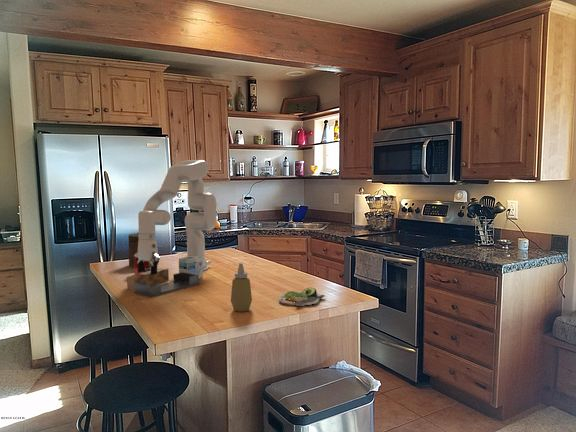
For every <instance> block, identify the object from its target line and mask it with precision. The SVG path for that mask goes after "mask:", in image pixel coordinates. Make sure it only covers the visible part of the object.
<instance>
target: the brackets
mask: <svg viewBox="0 0 576 432" xmlns="http://www.w3.org/2000/svg"><path fill="white" fill-rule="evenodd" d="M199 279H200V278H199V275H195V274H190V273H184V272H181V273H179V272H177V273H173V280H172V281H170V282H169V281H168V282H165V283H161V284H160V283H157V284H154V285H150V286H148V285H146V281H141V282H136V283H134V290H133V294H136V295H139V296H143V297H147V298H148V297H149V298H155V297H158V296H161V295H165V294H170V293H172V292H176V291H179V290H184V289H188V288H191V287H196V286H198V285H200V281H199Z"/></svg>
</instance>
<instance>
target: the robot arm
mask: <svg viewBox="0 0 576 432" xmlns="http://www.w3.org/2000/svg"><path fill="white" fill-rule="evenodd" d="M209 170H210V166H209V163H208V162H207V161H206V160H203V159H196V160H195V159H194V160H193V159H191V160H190V159H187V160H182V161H180V162H179V164H174V165H171V166H170V167H169V168H168V170H167V172H166V175H165V178H164V180H163V182H162V184H161V186H160V188H159V190H158V191H156V192H155V193H153V194H152V196H150V198H148V200H147V201H146V203H145V205H144V208H143V209H142V210H141V211H139V212H138V217H137V219H138V229H139V230H138V232H139V242H138V252H137V253H136V254H135V255H136V260H137V263H138V272H143V271H144V263H143V262H144V261H148V262H150V263H151V265H152V266H151V267H150V271H151V275H153V274H157V269H158V266H159V263H160V259H161V257H160V256H159V250H158V244H157V243H158V242H157V239H156V226H166V225H168V224H169V223H170V221H171V219H172V218H171V217H172V216H171V213H170V212H169V211H168V210H166V209H165V210H164V209H158V208H159V207H160V206H161V205H162V204H164V203H165V202H169V201H171V200H173V199H174V198H176V197H177V196H178V193H179V191H180V188H181V185H182V183H183V182H186V183H187V206H188V208H189V209H190V210H193V211H194V210H195V211H203V212H190V213H188V214H186V215H185V218H184V226H185V230H186V252H187V256H186V257H189V256H193V255H194V256H200V257H203V272H204V271H206V270H209V266H208V265H210V264H212V260H210V259H209V260H206V247H205V245H206V244H205V235H204V233H203V231H208V232H209V231H212V230H214V229H215V227H216V223H217V198H216V196H215V194H213V193H210V192H205V188H204V187H205V185H204V181H203V177H206V176H207V175H208V173H209ZM153 261H154V263H153Z"/></svg>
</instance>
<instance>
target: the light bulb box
mask: <svg viewBox="0 0 576 432" xmlns="http://www.w3.org/2000/svg"><path fill="white" fill-rule="evenodd" d="M181 272H184V273H190V274H195V275H199V279H201V278H203V277H204V276H203V275H204V274H203V272H204V271H203V257H200V256H194V255H193V256H189V257H187V256H185V257H179V258H178V273H181Z"/></svg>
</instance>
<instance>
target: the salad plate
mask: <svg viewBox="0 0 576 432" xmlns="http://www.w3.org/2000/svg"><path fill="white" fill-rule="evenodd" d="M324 297H326V296H325V294H319V293H318V292H317V289H316V288H315V287H307V288H305V289H303V290H302V291H301V292H300V291H294V290H291V291H288V292H287V291H285V292H284V293H282V294H281V296H279V297H278V300H277V301H278V302H279V303H281V304H282V305H284V304H286V305H285V306H289V305H296V306H295V307H306V306H305V305H309V306H313V305H312V304H314V305H316V304H318V303H319V301H320V300H321V299H322V298H324ZM284 298H286V299H285V300H287V299H290V300H289V301H291V300H292V301H291V302H287V301H285V302H284V301H283V299H284ZM293 302H295V303H293Z"/></svg>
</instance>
